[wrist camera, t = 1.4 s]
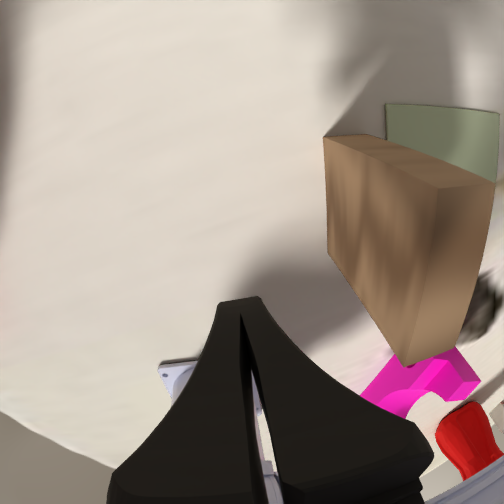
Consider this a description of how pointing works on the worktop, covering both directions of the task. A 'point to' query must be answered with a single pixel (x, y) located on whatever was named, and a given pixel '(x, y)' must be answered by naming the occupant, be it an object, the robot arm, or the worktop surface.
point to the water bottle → (468, 440)
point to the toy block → (421, 382)
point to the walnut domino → (406, 238)
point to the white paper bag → (498, 416)
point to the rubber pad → (448, 135)
